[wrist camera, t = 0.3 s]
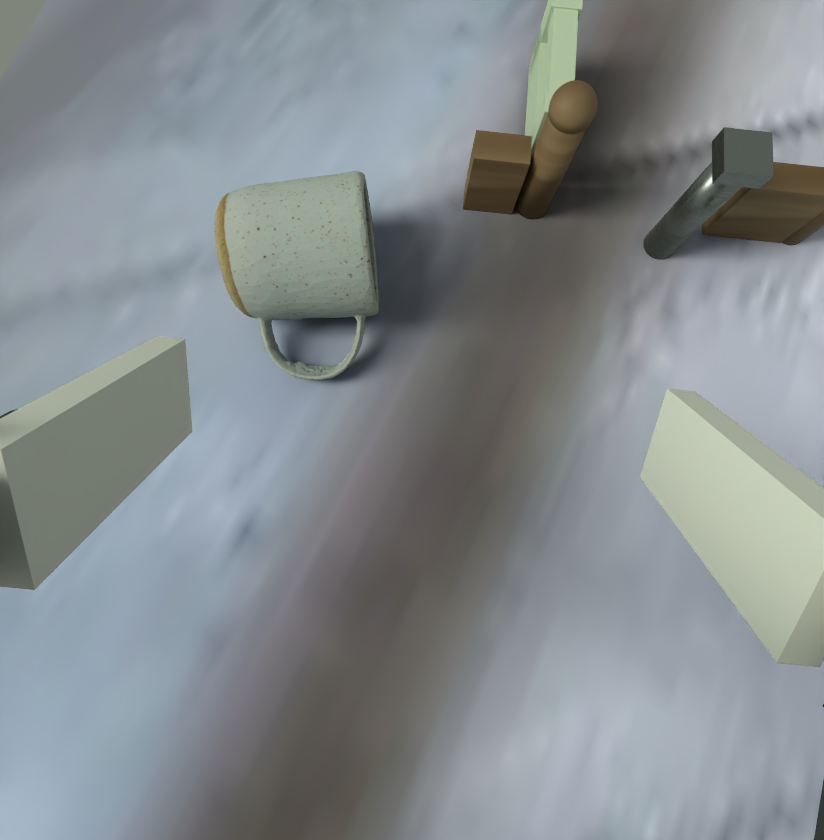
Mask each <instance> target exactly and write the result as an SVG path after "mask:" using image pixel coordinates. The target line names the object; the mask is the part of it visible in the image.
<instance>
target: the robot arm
mask: <svg viewBox="0 0 824 840" xmlns="http://www.w3.org/2000/svg"><path fill="white" fill-rule="evenodd" d="M191 432H192V422H191V409H190V396H189V383H188V371H187V358H186V345H185V339H180V338H170V337H160V336H156V337H154V338H152V339H150V340H148V341H146V342H145V343H143V344H141V345H139V346H137V347H135V348H133V349H131V350H129V351H127V352H126V353H124V354H122V355H120V356H118V357H116V358H114V359H112V360H110V361H108V362H107V363H105V364H103V365H101V366H99V367H97V368H95V369H93V370H91V371H90V372H88V373H86V374H84V375H82V376H80V377H78V378H76V379H74V380H72V381H71V382H69V383H67V384H65V385H63V386H61V387H59V388H57V389H55V390H53V391H52V392H50V393H48V394H46V395H44V396H42V397H40V398H38V399H36V400H34V401H33V402H31V403H29V404H27V405H25V406H23V407H21V408H19V409H16V410H12V411H10V412H8V413H6V414H4V415H2V416H0V586H1V587H11V588H22V589H32V590H35V589H36V588H37V587H38V586H39V585H40V584H41V583H42V582H43V581H44V580H45V579H46V578H47V577H48V576H49V575H50V574H51V573H52V572H53V571H54V570H55V569H56V568H57V567H58V566H59V565H60V564H61V563H62V562H63V561H64V560H65V559H66V558H67V557H68V556H69V555H70V554H71V553H72V552H73V551H74V550H75V549H76V548H77V547H78V546H79V545H80V544H81V543H82V542H83V541H84V540H85V539H86V538H87V537H88V536H89V535H90V534H91V533H92V532H93V531H94V530H95V529H96V528H97V527H98V526H99V525H100V524H101V523H102V522H103V521H104V520H105V519H106V518H107V517H108V516H109V515H110V514H111V513H112V512H113V511H114V510H115V509H116V508H117V507H118V506H119V505H120V503H121V502H122V501H123V500H124V499H125V498H126V497H127V496H128V495H129V494H130V493H131V492H132V491H133V490H134V489H135V488H136V487H137V486H138V485H139V484H140V483H141V482H142V481H143V480H144V479H145V478H146V477H147V476H148V475H149V474H150V473H151V472H152V471H153V470H154V469H155V468H156V467H157V466H158V465H159V464H160V463H161V462H162V461H163V460H164V459H165V458H166V457H167V456H168V455H169V454H170V453H171V452H172V451H173V450H174V449H175V448H176V447H177V446H178V445H179V444H180V443H181V442H182V441H183V440H184V439H185V438H186V437H187V436H188V435H189V434H190V433H191ZM640 477H641V479H642V480H643V481H644V483H645V484H646V486H647V487H648V488H649V490H650V491H651V492H652V494H653V495H654V496H655V498H656V499H657V501H658V502H659V503H660V505H661V506H662V507H663V509H664V510H665V511H666V513H667V514H668V516H669V517H670V518H671V520H672V521H673V522H674V524H675V525H676V526H677V528H678V529H679V530H680V532H681V533H682V535H683V536H684V537H685V539H686V540H687V541H688V543H689V544H690V545H691V547H692V548H693V550H694V551H695V552H696V554H697V555H698V556H699V558H700V559H701V560H702V562H703V563H704V564H705V566H706V567H707V569H708V570H709V571H710V573H711V574H712V575H713V577H714V578H715V579H716V581H717V582H718V584H719V585H720V586H721V588H722V589H723V590H724V592H725V593H726V594H727V596H728V597H729V599H730V600H731V601H732V603H733V604H734V605H735V607H736V608H737V609H738V611H739V612H740V613H741V615H742V616H743V618H744V619H745V620H746V622H747V623H748V624H749V626H750V627H751V628H752V630H753V631H754V633H755V634H756V635H757V637H758V638H759V639H760V641H761V642H762V643H763V645H764V646H765V648H766V649H767V650H768V652H769V653H770V654H771V656H772V657H773V658H774V660H775V661H776V662H777V663H784V664H794V665H804V666H814V667H820V665H821V663H822V662H823V660H824V488H822V487H821V486H820V485H819V484H817V483H816V482H815V481H813V480H812V479H811V478H809V477H808V476H807V475H805V474H804V473H803V472H801V471H800V470H799V469H797V468H796V467H795V466H793V465H792V464H791V463H789V462H788V461H787V460H785V459H784V458H783V457H781V456H780V455H779V454H777V453H776V452H775V451H773V450H772V449H771V448H769V447H768V446H767V445H766V444H764V443H763V442H762V441H760V440H759V439H758V438H756V437H755V436H754V435H752V434H751V433H750V432H748V431H747V430H746V429H744V428H743V427H742V426H740V425H739V424H738V423H736V422H735V421H734V420H732V419H731V418H730V417H728V416H727V415H726V414H724V413H723V412H722V411H720V410H719V409H718V408H716V407H715V406H714V405H713V404H711V403H710V402H709V401H707V400H706V399H705V398H703V397H702V396H701V395H699V394H698V393H697V392H695V391H686V390H676V389H667V391H666V395H665V398H664V401H663V404H662V407H661V411H660V414H659V417H658V420H657V424H656V427H655V430H654V433H653V437H652V440H651V443H650V446H649V449H648V453H647V456H646V459H645V462H644V466H643V469H642V472H641V475H640ZM823 707H824V704H823ZM814 840H824V781H823V787H822V794H821V800H820V806H819V812H818V818H817V824H816V831H815V837H814Z"/></svg>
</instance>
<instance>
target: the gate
mask: <svg viewBox="0 0 824 840" xmlns="http://www.w3.org/2000/svg"><path fill="white" fill-rule="evenodd" d="M582 4H583V0H548V3H547V6H546V10H545V13H544V17H543V20H542V24H541V27H540V30H539V34H538V37H537V41H536V44H535V48H534V51H533V54H532V58H531V61H530V65H529V77H528V96H527V111H526V126H525V135H526V136H532V144H531V157H532V154H533V152H534V149H535V146H536V144H537V141H538V138H539V135H540V133H541V130H542V127H543V125H544V122H545V119H546V117H547V114H548V109H549V104H550V100H551V98H552V96H553V94H554V93H555V91H556V90H557V89H558V88H559V87H560V86H562V85H563V84H565V83H567V82H569V81H573V80H575V65H576V45H577V25H578V20H579V17H580V14H581V11H582ZM530 160H531V159H530Z"/></svg>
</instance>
